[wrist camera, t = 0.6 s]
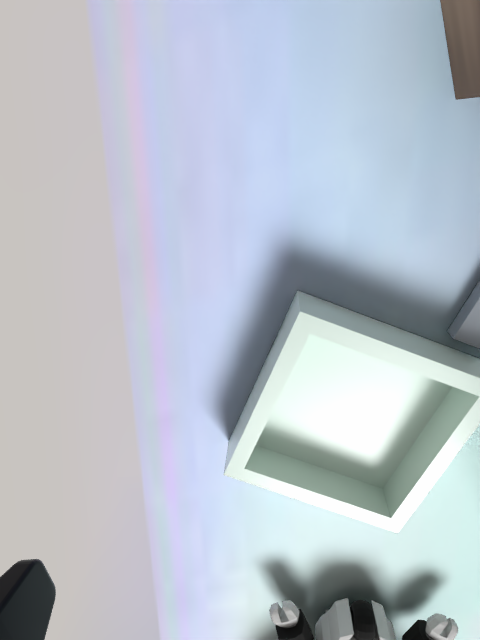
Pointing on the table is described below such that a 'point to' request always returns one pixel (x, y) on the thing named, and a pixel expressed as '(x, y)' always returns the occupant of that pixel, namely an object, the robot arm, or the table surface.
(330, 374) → the tray
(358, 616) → the robot toy
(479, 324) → the crank base
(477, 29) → the brown block
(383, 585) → the table surface
